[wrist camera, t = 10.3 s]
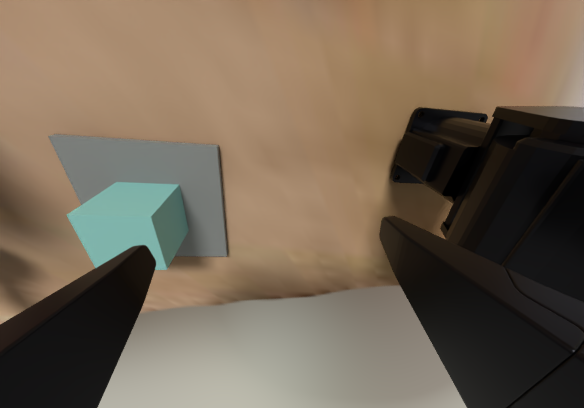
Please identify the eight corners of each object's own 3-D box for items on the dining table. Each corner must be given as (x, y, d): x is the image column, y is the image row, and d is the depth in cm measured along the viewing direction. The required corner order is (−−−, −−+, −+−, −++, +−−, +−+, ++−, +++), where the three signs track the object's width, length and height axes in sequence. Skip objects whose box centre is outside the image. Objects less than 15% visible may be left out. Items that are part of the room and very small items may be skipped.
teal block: (179, 184, 18) (150, 216, 14) (188, 230, 21) (167, 269, 16) (116, 181, 18) (66, 214, 13) (133, 229, 20) (96, 270, 16)
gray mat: (218, 145, 17) (217, 147, 17) (227, 252, 23) (226, 256, 23) (55, 134, 16) (48, 136, 15) (110, 251, 22) (106, 255, 21)
